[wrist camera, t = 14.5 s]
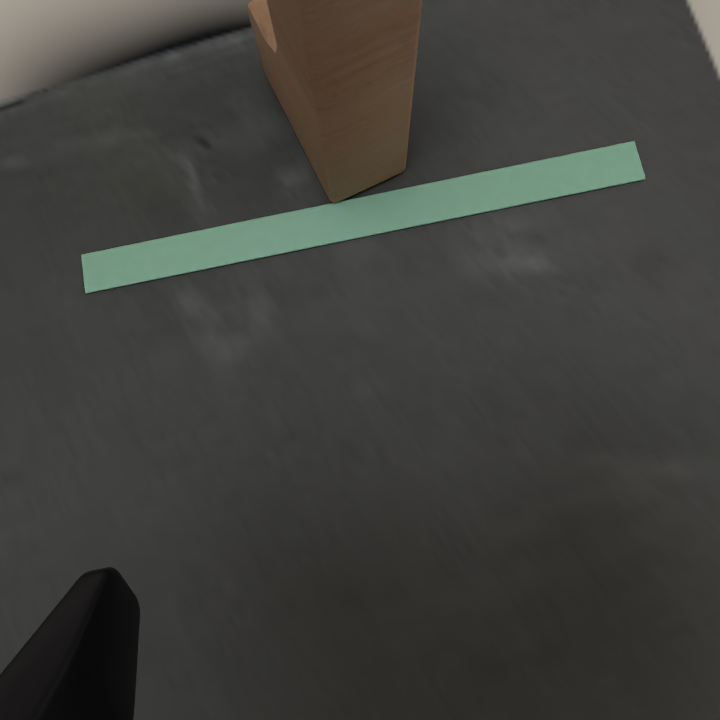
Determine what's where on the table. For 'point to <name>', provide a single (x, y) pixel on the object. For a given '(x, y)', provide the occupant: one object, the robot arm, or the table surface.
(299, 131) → the wooden block
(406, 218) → the tape strip
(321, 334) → the table surface
